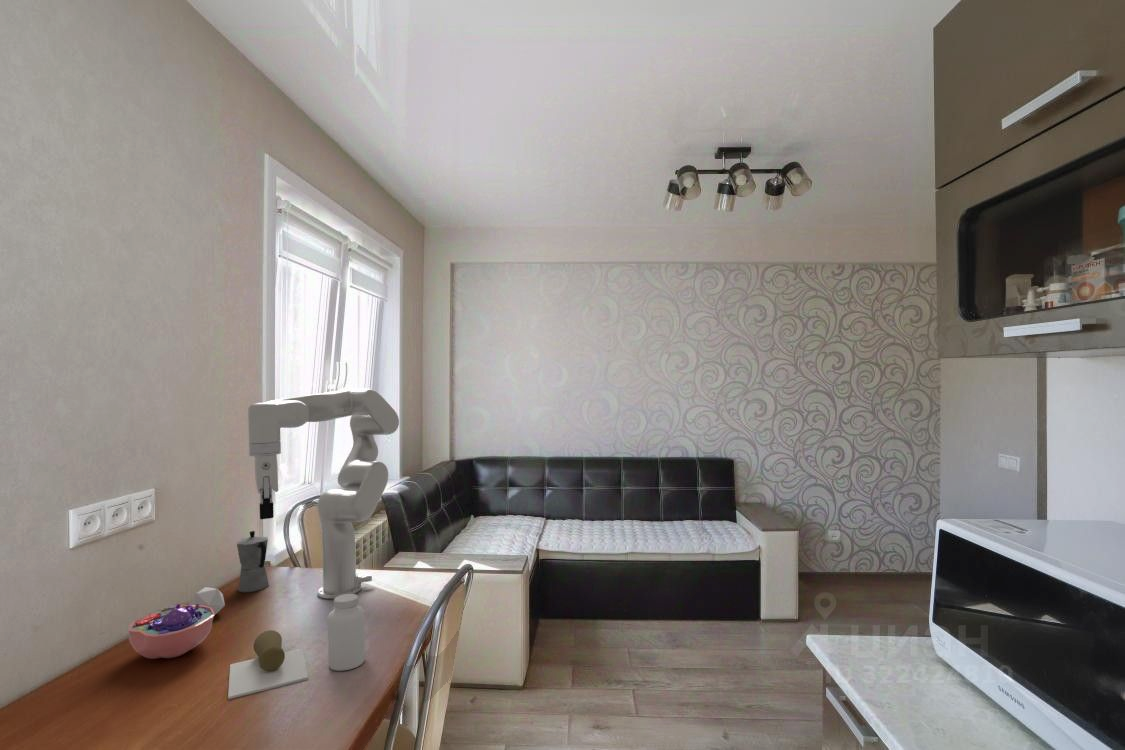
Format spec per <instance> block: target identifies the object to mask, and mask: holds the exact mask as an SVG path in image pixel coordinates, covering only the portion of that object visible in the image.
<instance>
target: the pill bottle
mask: <svg viewBox="0 0 1125 750" xmlns="http://www.w3.org/2000/svg"><path fill="white" fill-rule="evenodd" d="M365 620H366V619H365V611H364V609H363V607H362V606H360V605H359V595H358V594H357V593H355V594H344V595H340V596H338V597H336V598H335V599H333V609H332V610H331V611H330V612H329V613H328V617H327V655H328V656H327V658H328V660H327V661H328V667H329V669H330V670H332V671H336V672H338V671H339V672H341V671H348V670H353V669H355V668H358V667H359V666H361V665H363V663H364V662H365V660H366V630H365V628H366V627H365V625H366V623H365Z"/></svg>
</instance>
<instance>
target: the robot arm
mask: <svg viewBox="0 0 1125 750" xmlns="http://www.w3.org/2000/svg"><path fill="white" fill-rule="evenodd" d="M247 413H248V416H247V417H248V456H249V457H254V476H255V477H254V478H255V486H256V489H257V493H258V494H260V495H259V496H260V497H259V498H260V500H259V501H260V503H259V519H260V520H268V519H273V518H274V516H275V515H274V501H273V492H274V491H275V493H278V492H279V474H278V473H279V472H278V471H279V468H278V467H279V466H278V455H280V454H282V444H281V443H282V440H281V438H282V437H281V428H283V429H288V428H289V429H291V428H292V429H293V428H295V429H296V428H299V427H301V426H304V425H305V424H307V423H319V422H329V421H331V420H336V419H341V418H345V417H350V416H351V417H350V420H349V427H350V431H351V435H352V440H353V441H352V442H353V444H352V447H351V450H350V453H349V454H348V456H347V458H346V459H345V461H344V463H343V465H342V466H341V468H340V471H339V473H338V476H337V483H338V485H339V486H340V487H341V488H334V489H329V490H326V491H325V492H323V493H322V494H321V495H320V496H319V498H318V501H317V514H318V519H319V522H320V526H321V527H320V530H321V548H322V553H321V554H322V586H321V587H319V589H317V596H318V597H319V598H321V599H329V600H334V599H335V598H336V597H338V596H340V595H344V594H357V593H359V592H360V591H361V590H362V583H369V582H372V580H373V576H372V574H366V573H365V574H361V575H359V574H357V572H356V571H357V569H356V532H355V528H354V525H353V522H354V523H355V522H356V523H361V522H362V523H363V522H366V521H368V520H369V519H370V518H371V517H372V515H373V514H374V512H375V510H376V508H377V506H378V504H379V502H380V500H381V498H382V496H383V493H384V492H385V490H386V487H387V484H388V481H389V470H388V467H387V465H386V464H385V463H384V462H382V461H378V460H377V458H378V454H379V448H378V444H377V442H376V441H375V437H374V436H379V435H381V436H382V435H383V436H387V435H392V434H394V433H396V431H397V430H398V428H399V425H400V419H399V415H398V413H397V412H396V411H395V409H394V408H393V407H392V405H390V403H389V402H388V401H387V400H386V399H385V398H384V397H383V396H382V395H381V394H380V393H378V392H377V390H375V389H373V388H347V389H342V390H335V391H328V392H323V393H322V392H321V393H314V394H309V395H303V396H295V397H287V398H279V399H273V400H268V401H265V402H256V403H251V404H250V405H249V406H248V411H247Z"/></svg>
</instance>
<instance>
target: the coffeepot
mask: <svg viewBox="0 0 1125 750" xmlns="http://www.w3.org/2000/svg"><path fill="white" fill-rule="evenodd" d="M255 533H256V531H255V530H251V531H249V536H248V537H245V538H244V537H243V538H241V540H237V541H236V548H237V552H238V557H239V564H240V573H239V581H238V586H237V587H238V588H237V591H238V592H240V593H254V592H257V591H262V590H263V589H266V588H268V587H269V585H270V583H269V580H268V579H269V578H268V574H267V568H266V565H265V562H266V556H267V551H268V550H267V549H268V542H269V538H268V537H267V536H256V534H255Z"/></svg>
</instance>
